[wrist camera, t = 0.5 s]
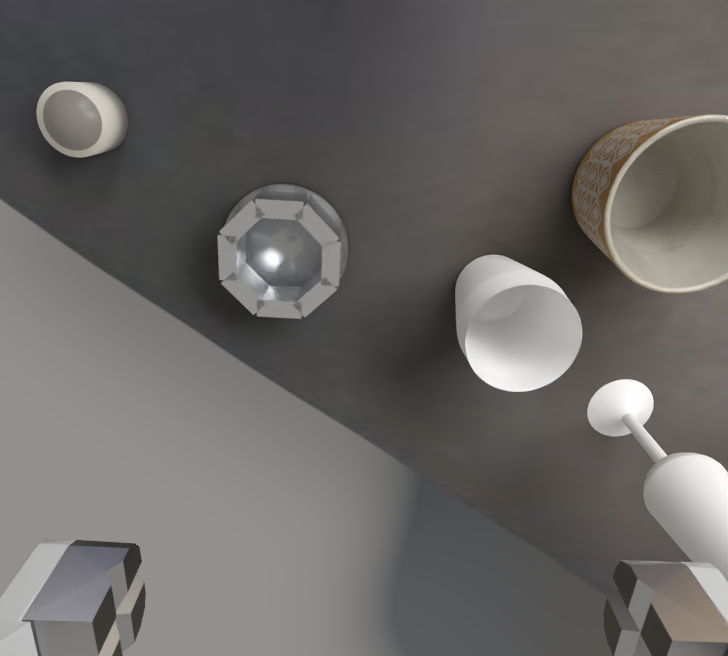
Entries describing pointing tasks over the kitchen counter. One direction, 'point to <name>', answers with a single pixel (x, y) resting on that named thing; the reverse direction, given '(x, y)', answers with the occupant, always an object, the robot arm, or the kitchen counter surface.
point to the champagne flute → (670, 476)
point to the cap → (82, 118)
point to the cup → (514, 324)
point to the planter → (659, 201)
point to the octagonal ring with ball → (282, 251)
